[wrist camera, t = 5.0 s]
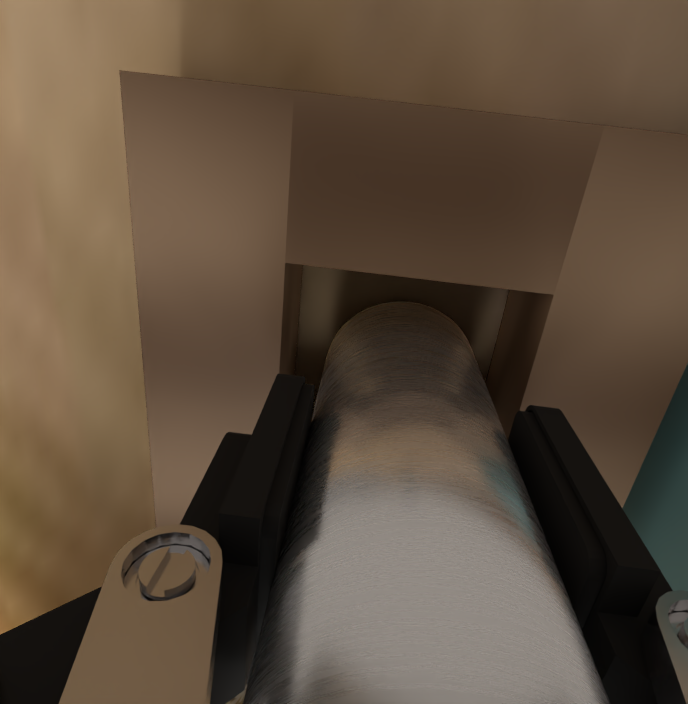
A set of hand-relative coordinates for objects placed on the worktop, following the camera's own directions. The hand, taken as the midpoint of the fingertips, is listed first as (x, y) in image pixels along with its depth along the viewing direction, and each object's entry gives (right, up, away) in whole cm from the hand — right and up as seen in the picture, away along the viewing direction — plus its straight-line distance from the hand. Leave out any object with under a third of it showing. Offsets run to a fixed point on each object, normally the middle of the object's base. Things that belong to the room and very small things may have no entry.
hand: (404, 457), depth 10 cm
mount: (0, +2, +4) cm, 5 cm away
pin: (0, +2, +3) cm, 4 cm away
